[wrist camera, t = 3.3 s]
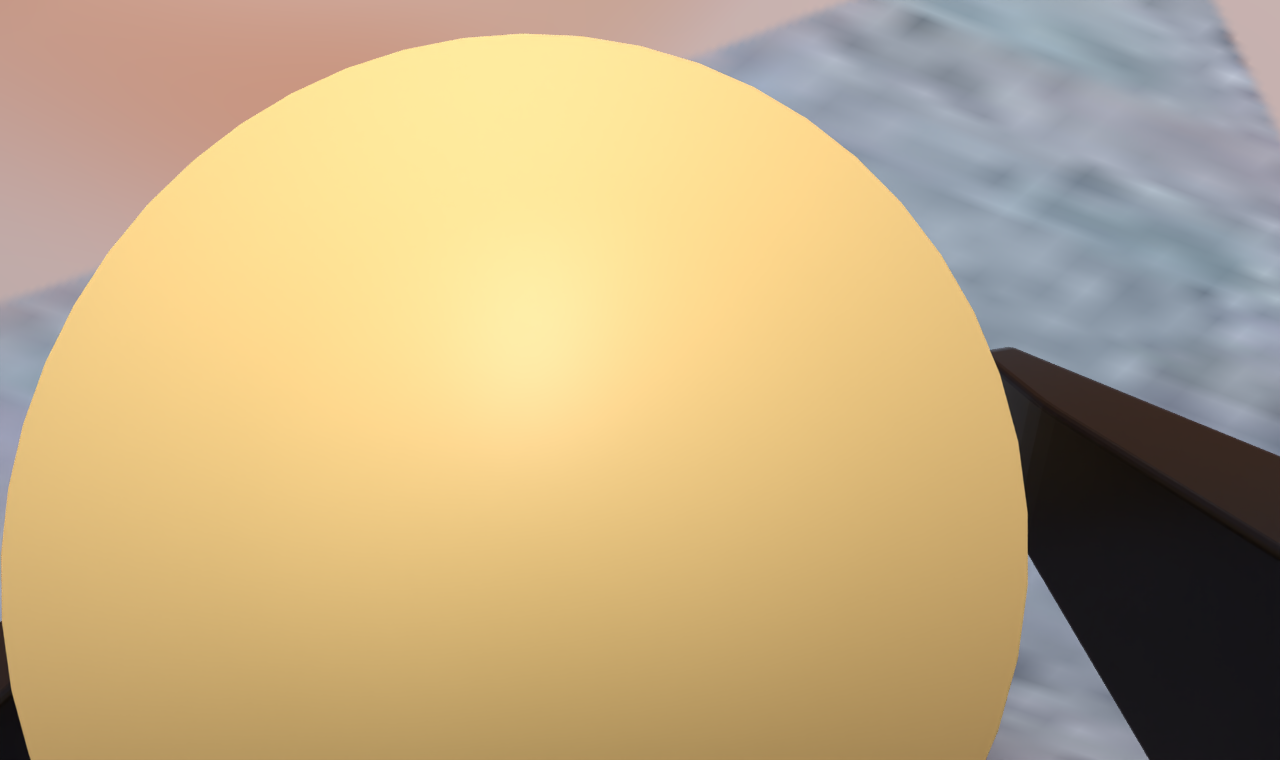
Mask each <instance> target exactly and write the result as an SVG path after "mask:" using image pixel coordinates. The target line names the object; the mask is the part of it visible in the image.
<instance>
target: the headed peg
mask: <svg viewBox="0 0 1280 760" xmlns="http://www.w3.org/2000/svg"><path fill="white" fill-rule="evenodd" d="M1 582H2V626H3V633H4V640H5V647H6V654H7V662H8V669H9V676H10V683H11V690H12V694H13V698H14V701H15V705H16V709H17V712H18V716H19V720H20V723H21V727H22V731H23V734H24V738H25V742H26V745H27V749H28V753H29V756H30V759H31V760H986V758H987V755H988V753H989V751H990V748H991V746H992V744H993V741H994V739H995V737H996V734H997V732H998V729H999V725H1000V722H1001V718H1002V714H1003V711H1004V707H1005V703H1006V700H1007V696H1008V692H1009V689H1010V685H1011V681H1012V678H1013V674H1014V670H1015V667H1016V663H1017V659H1018V653H1019V645H1020V638H1021V630H1022V623H1023V615H1024V608H1025V600H1026V593H1027V585H1028V512H1027V505H1026V497H1025V490H1024V482H1023V475H1022V467H1021V460H1020V452H1019V445H1018V439H1017V436H1016V432H1015V428H1014V425H1013V421H1012V417H1011V414H1010V410H1009V406H1008V402H1007V399H1006V395H1005V391H1004V388H1003V384H1002V380H1001V376H1000V373H999V371H998V369H997V366H996V364H995V361H994V359H993V357H992V354H991V352H990V349H989V347H988V345H987V342H986V340H985V337H984V335H983V333H982V330H981V328H980V325H979V323H978V320H977V318H976V316H975V313H974V311H973V309H972V308H971V306H970V304H969V303H968V301H967V299H966V297H965V296H964V294H963V292H962V290H961V289H960V287H959V285H958V283H957V282H956V280H955V278H954V277H953V275H952V273H951V271H950V270H949V268H948V266H947V264H946V263H945V261H944V259H943V257H942V256H941V254H940V253H939V251H938V250H937V249H936V248H935V246H934V245H933V244H932V242H931V241H930V240H929V238H928V237H927V236H926V234H925V233H924V232H923V231H922V229H921V228H920V227H919V225H918V224H917V223H916V221H915V220H914V219H913V217H912V216H911V215H910V214H909V212H908V211H907V210H906V208H905V207H904V206H903V204H902V203H901V202H900V201H899V200H898V199H897V198H896V197H895V196H894V195H893V194H892V193H891V192H890V191H889V190H888V189H887V188H886V187H885V186H884V185H883V184H882V183H881V182H880V181H879V180H878V179H877V178H876V177H875V176H874V175H873V174H872V173H871V172H870V171H869V170H868V169H867V168H866V167H865V166H864V165H863V164H862V163H861V162H860V161H859V160H858V159H857V158H856V157H855V156H854V155H853V154H851V153H850V152H849V151H847V150H846V149H845V148H844V147H842V146H841V145H840V144H839V143H837V142H836V141H835V140H833V139H832V138H831V137H830V136H828V135H827V134H826V133H824V132H823V131H822V130H821V129H819V128H818V127H817V126H815V125H814V124H813V123H812V122H810V121H809V120H808V119H806V118H805V117H803V116H801V115H800V114H798V113H796V112H795V111H793V110H791V109H789V108H788V107H786V106H784V105H783V104H781V103H779V102H778V101H776V100H774V99H773V98H771V97H769V96H768V95H766V94H764V93H763V92H761V91H759V90H758V89H756V88H754V87H752V86H750V85H747V84H745V83H743V82H740V81H738V80H736V79H734V78H731V77H729V76H727V75H724V74H722V73H720V72H717V71H715V70H713V69H711V68H708V67H706V66H704V65H701V64H699V63H696V62H693V61H689V60H686V59H683V58H679V57H676V56H672V55H669V54H665V53H662V52H659V51H655V50H652V49H649V48H645V47H642V46H637V45H631V44H624V43H619V42H613V41H607V40H601V39H595V38H588V37H583V36H563V35H540V34H512V35H499V36H485V37H473V38H461V39H457V40H451V41H446V42H441V43H436V44H431V45H426V46H421V47H416V48H411V49H406V50H402V51H399V52H396V53H393V54H390V55H386V56H383V57H380V58H377V59H374V60H371V61H368V62H365V63H362V64H359V65H355V66H353V67H349V68H346V69H344V70H342V71H340V72H338V73H335V74H333V75H331V76H329V77H327V78H325V79H322V80H320V81H318V82H316V83H313V84H311V85H309V86H307V87H305V88H303V89H300V90H298V91H296V92H294V93H292V94H290V95H288V96H287V97H285V98H284V99H282V100H280V101H278V102H277V103H275V104H273V105H272V106H270V107H268V108H267V109H265V110H263V111H262V112H260V113H259V114H257V115H255V116H254V117H252V118H250V119H248V120H247V121H245V122H244V123H242V124H240V125H239V126H238V127H237V128H235V129H234V130H233V131H231V132H230V133H229V134H227V135H226V136H225V137H224V138H222V139H221V140H220V141H218V142H217V143H216V144H214V145H213V146H212V147H210V148H209V149H208V150H207V151H205V152H204V153H203V154H201V155H200V156H199V157H198V158H196V159H195V160H193V161H192V162H191V163H190V164H189V165H188V166H187V167H186V168H185V169H184V170H183V171H182V172H181V173H180V174H179V175H178V176H177V177H176V178H175V179H174V180H173V181H172V182H171V183H169V184H168V185H167V186H166V187H165V188H164V189H163V190H162V191H161V192H160V193H159V194H158V195H157V196H156V197H155V198H154V199H153V200H152V201H151V202H150V203H149V204H148V205H147V206H146V207H145V209H144V210H143V211H142V212H141V213H140V215H139V216H138V217H137V218H136V219H135V221H134V222H133V223H132V224H131V226H130V227H129V228H128V229H127V230H126V232H125V233H124V234H123V235H122V236H121V238H120V239H119V240H118V241H117V243H116V244H115V245H114V246H113V247H112V249H111V250H110V251H109V252H108V254H107V255H106V257H105V259H104V260H103V261H102V263H101V264H100V266H99V268H98V269H97V271H96V272H95V274H94V275H93V277H92V278H91V280H90V281H89V283H88V284H87V286H86V288H85V289H84V291H83V292H82V294H81V295H80V297H79V298H78V300H77V301H76V303H75V305H74V306H73V308H72V310H71V312H70V314H69V316H68V318H67V320H66V322H65V324H64V326H63V328H62V330H61V332H60V334H59V336H58V338H57V340H56V342H55V344H54V346H53V348H52V351H51V353H50V355H49V357H48V359H47V361H46V363H45V365H44V368H43V371H42V374H41V376H40V379H39V382H38V385H37V387H36V390H35V393H34V396H33V399H32V401H31V404H30V407H29V410H28V412H27V415H26V418H25V421H24V424H23V428H22V432H21V436H20V441H19V445H18V449H17V453H16V458H15V462H14V466H13V471H12V475H11V479H10V483H9V488H8V497H7V506H6V515H5V524H4V533H3V542H2V551H1Z"/></svg>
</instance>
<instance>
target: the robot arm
mask: <svg viewBox="0 0 1280 760" xmlns="http://www.w3.org/2000/svg"><path fill="white" fill-rule="evenodd" d="M990 352H991V354H992V357H993V359H994V361H995V364H996V366H997V369H998V371H999V373H1000V376H1001V380H1002V384H1003V388H1004V391H1005V395H1006V399H1007V402H1008V406H1009V410H1010V414H1011V417H1012V421H1013V425H1014V428H1015V432H1016V436H1017V439H1018V445H1019V452H1020V460H1021V467H1022V475H1023V482H1024V490H1025V497H1026V505H1027V512H1028V555H1029V557H1030V558H1031V560H1032V562H1033V564H1034V565H1035V567H1036V569H1037V570H1038V572H1039V574H1040V575H1041V577H1042V579H1043V580H1044V582H1045V584H1046V586H1047V587H1048V589H1049V591H1050V592H1051V594H1052V596H1053V597H1054V599H1055V601H1056V602H1057V604H1058V606H1059V608H1060V609H1061V611H1062V613H1063V614H1064V616H1065V618H1066V619H1067V621H1068V623H1069V625H1070V626H1071V628H1072V630H1073V631H1074V633H1075V635H1076V636H1077V638H1078V640H1079V641H1080V643H1081V645H1082V647H1083V648H1084V650H1085V652H1086V653H1087V655H1088V657H1089V658H1090V660H1091V662H1092V664H1093V665H1094V667H1095V669H1096V670H1097V672H1098V674H1099V675H1100V677H1101V679H1102V680H1103V682H1104V684H1105V686H1106V687H1107V689H1108V691H1109V692H1110V694H1111V696H1112V697H1113V699H1114V701H1115V702H1116V704H1117V706H1118V708H1119V709H1120V711H1121V713H1122V714H1123V716H1124V718H1125V719H1126V721H1127V723H1128V725H1129V726H1130V728H1131V730H1132V731H1133V733H1134V735H1135V736H1136V738H1137V740H1138V741H1139V743H1140V745H1141V747H1142V748H1143V750H1144V752H1145V753H1146V755H1147V757H1148V758H1149V760H1280V456H1278V455H1275V454H1273V453H1270V452H1268V451H1265V450H1263V449H1261V448H1258V447H1256V446H1253V445H1251V444H1248V443H1246V442H1243V441H1241V440H1239V439H1236V438H1234V437H1231V436H1229V435H1226V434H1224V433H1221V432H1219V431H1217V430H1214V429H1212V428H1209V427H1207V426H1204V425H1202V424H1199V423H1197V422H1194V421H1192V420H1190V419H1187V418H1185V417H1182V416H1180V415H1177V414H1175V413H1172V412H1170V411H1168V410H1165V409H1163V408H1160V407H1158V406H1155V405H1153V404H1150V403H1148V402H1145V401H1143V400H1141V399H1138V398H1136V397H1133V396H1131V395H1128V394H1126V393H1123V392H1121V391H1119V390H1116V389H1114V388H1111V387H1109V386H1106V385H1104V384H1101V383H1099V382H1096V381H1094V380H1092V379H1089V378H1087V377H1084V376H1082V375H1079V374H1077V373H1074V372H1072V371H1070V370H1067V369H1065V368H1062V367H1060V366H1057V365H1055V364H1052V363H1050V362H1047V361H1045V360H1043V359H1040V358H1038V357H1035V356H1033V355H1030V354H1028V353H1025V352H1023V351H1021V350H1018V349H1015V348H1012V347H1005V348H999V349H993V350H990ZM0 760H31V759H30V756H29V753H28V749H27V745H26V742H25V738H24V734H23V731H22V727H21V723H20V720H19V716H18V712H17V709H16V705H15V701H14V698H13V694H12V690H11V683H10V676H9V669H8V662H7V654H6V647H5V640H4V633H3V626H2V621H1V622H0Z"/></svg>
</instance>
